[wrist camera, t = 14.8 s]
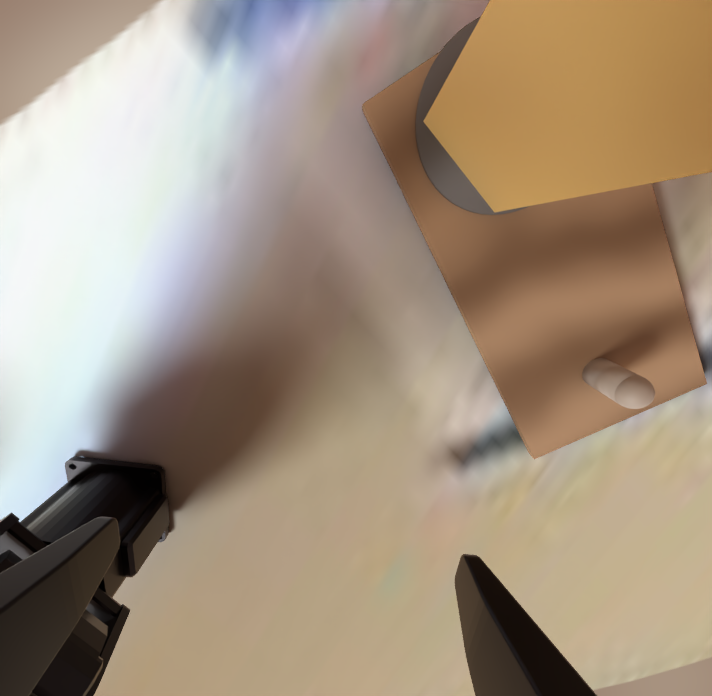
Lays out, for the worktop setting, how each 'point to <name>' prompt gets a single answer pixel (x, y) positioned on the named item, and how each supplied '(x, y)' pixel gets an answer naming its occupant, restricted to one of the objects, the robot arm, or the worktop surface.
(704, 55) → the sleeve
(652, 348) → the board
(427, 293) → the worktop surface
